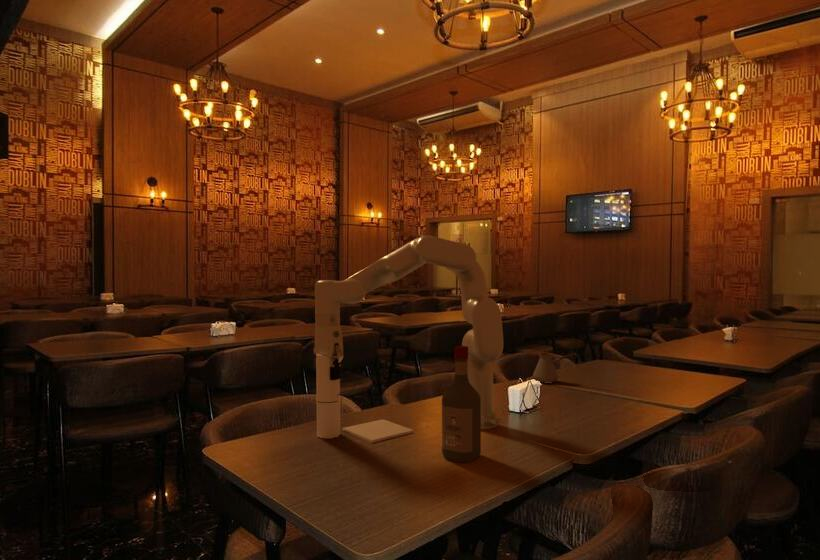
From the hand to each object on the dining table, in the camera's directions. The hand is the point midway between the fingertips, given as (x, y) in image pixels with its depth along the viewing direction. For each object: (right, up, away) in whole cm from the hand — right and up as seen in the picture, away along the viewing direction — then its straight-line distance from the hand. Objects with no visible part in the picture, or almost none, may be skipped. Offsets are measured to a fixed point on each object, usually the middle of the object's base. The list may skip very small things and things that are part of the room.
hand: (328, 377), depth 165 cm
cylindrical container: (0, -18, 0) cm, 18 cm away
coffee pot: (+91, -17, +77) cm, 120 cm away
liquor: (+39, -18, -19) cm, 47 cm away
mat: (+15, -18, +4) cm, 24 cm away
